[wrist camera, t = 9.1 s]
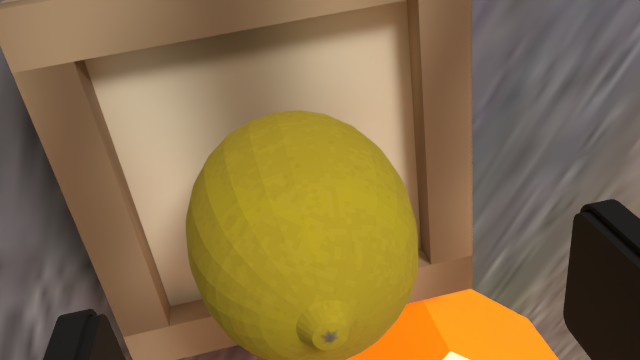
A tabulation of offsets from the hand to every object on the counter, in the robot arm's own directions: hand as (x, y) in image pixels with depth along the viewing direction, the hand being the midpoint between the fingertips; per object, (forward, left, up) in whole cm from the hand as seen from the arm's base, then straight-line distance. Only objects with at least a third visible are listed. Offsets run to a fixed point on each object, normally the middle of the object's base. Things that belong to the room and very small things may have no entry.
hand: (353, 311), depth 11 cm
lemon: (+1, 0, -8) cm, 8 cm away
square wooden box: (+1, 0, -10) cm, 10 cm away
